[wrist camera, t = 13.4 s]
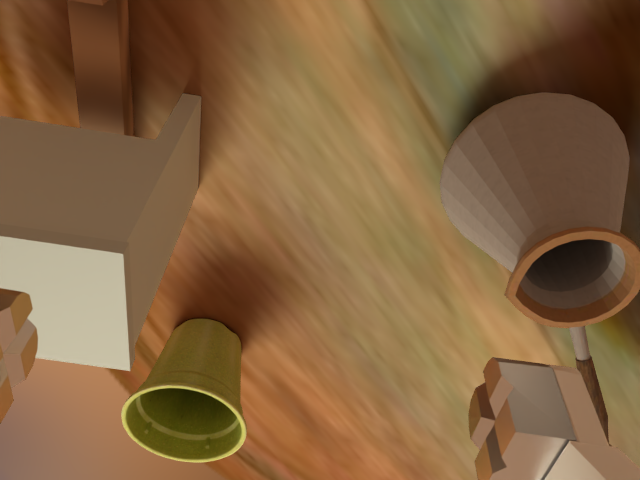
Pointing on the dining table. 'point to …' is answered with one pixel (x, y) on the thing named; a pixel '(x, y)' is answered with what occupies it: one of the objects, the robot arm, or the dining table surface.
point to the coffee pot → (549, 212)
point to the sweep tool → (102, 64)
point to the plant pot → (191, 396)
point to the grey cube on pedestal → (93, 228)
